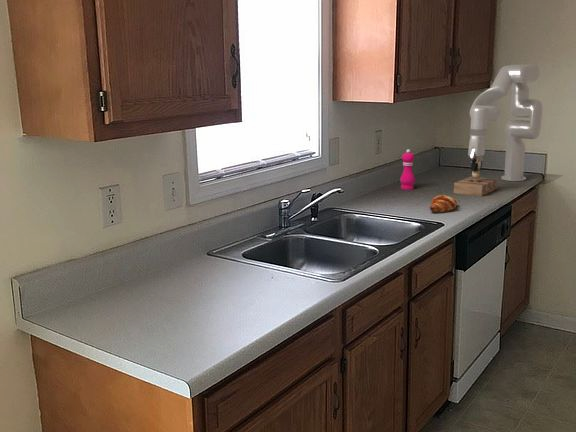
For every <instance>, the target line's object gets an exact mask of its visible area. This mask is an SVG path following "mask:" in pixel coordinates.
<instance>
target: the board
mask: <svg viewBox="0 0 576 432" xmlns="http://www.w3.org/2000/svg"><path fill="white" fill-rule="evenodd" d="M497 189H498V179H497V178H490V177H489V178H487V177H480V178H472V176H469V177H465V178H463V179H461V180H458V181H456V182H454V183H453V194H459V195H469V196H475V197H483V196H485V195H488V194H489V193H491V192H494V191H495V190H496V191H497Z"/></svg>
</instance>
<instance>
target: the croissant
mask: <svg viewBox="0 0 576 432" xmlns="http://www.w3.org/2000/svg"><path fill="white" fill-rule="evenodd" d="M457 204H458V200H457V199H455V198H453V197H451V196H448V195H444V194H442V195H440V194H439V195H437V196H435V197H434V198H433V199H432V201H431V204H430V205H429V210H430V211H431V212H432V213H446V212H447V213H448V212H450V211H453V210H454V209H455V208H456V207H457Z"/></svg>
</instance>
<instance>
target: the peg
mask: <svg viewBox="0 0 576 432" xmlns="http://www.w3.org/2000/svg"><path fill="white" fill-rule="evenodd" d="M474 156H476V155H474ZM475 159H476V158H475ZM477 163H478V171H471V172H472V173H471V177H472V178H481V174H480V173H481V170H480V168H481V156H479V157H478V162H477Z"/></svg>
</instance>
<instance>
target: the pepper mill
mask: <svg viewBox="0 0 576 432" xmlns="http://www.w3.org/2000/svg"><path fill="white" fill-rule="evenodd" d="M401 159H402V161H403V162H402V166H403V172H402V173H401V176H400V180H399V181H400V183H401V185H400V188H401V190H405V191H407V190H408V191H410V190H414V188H415V187H414V186H415V185H414V183H415V182H416V179H415V175H414V173H413V168H412V167H413V165H414V162H413V161H414V159H415V154H413V153H412V152H411V150H410V149H406V152H404V153H403V154H402V155H401Z"/></svg>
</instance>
